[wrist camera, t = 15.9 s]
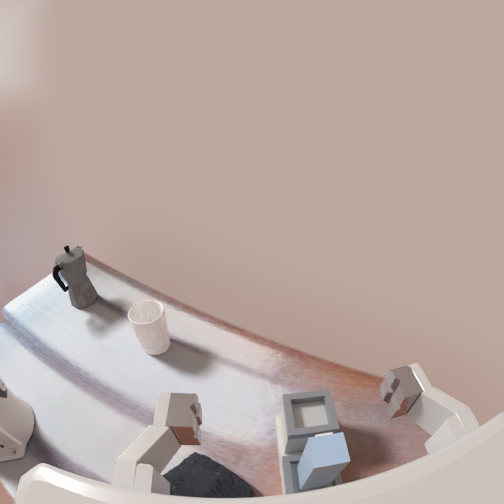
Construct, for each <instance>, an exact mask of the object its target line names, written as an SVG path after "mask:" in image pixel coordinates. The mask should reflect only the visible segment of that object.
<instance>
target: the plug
mask: <svg viewBox="0 0 504 504" xmlns="http://www.w3.org/2000/svg"><path fill="white" fill-rule="evenodd" d="M349 462H350V457H349V453H348V449H347V445H346V441H345V437H344V433H343V432H341V433H335V434H333V432H330V433H324V434H317V435H315V437H310V438H308V441H307V444H306V446H305V449H304V451H303V454H302V456H301V459H300V461H299V464H298V466H297V469H296V470H297V477H298V485H299V491H305V490H311V489H318V488H323V487H327V486H328V485H329V484H330V483H331V482H332V481H333V480H334V479H335V478H336V477H337V476H338V475H339V473H340V472H341V471H342V470H343V469H344V468H345V467H346V466H347V465H348V463H349Z"/></svg>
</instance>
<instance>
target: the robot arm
mask: <svg viewBox="0 0 504 504" xmlns="http://www.w3.org/2000/svg"><path fill="white" fill-rule="evenodd" d="M385 376H386V379H385V380H384V381H383V382H382V384H381V386H380V393H381V397H382V399H383V401H385V402H386V403H387V407H386V409H387V411H388V413H389V416H390V418H391V419H392V418H395V417H399V416H402V415H405V414H406V415H407V416H408V417H409V418H410V419H412V420H413V421H414V422H415V423H416V424H418V425H419V426H420V427H421V428H423V429H424V430H425V431H426V432H428V433H429V434H430V435H431V437H430V438H429V439H428V440H427V441H426V443H425V447H426V449H427V452H428V455H426V456H423V457H421V458H419V459H417V460H414V461H412V462H409V463H407V464H404V465H402V466H399V467H396V468H394V469H391V470H388V471H385V472H382V473H379V474H376V475H373V476H370V477H367V478H363V479H360V480H356V481H353V482H349V483H345V484H341V485H336V486H332V487H327V488H323V489H317V490H312V491H306V492H300V493H293V494H285V495H277V496H266V497H251V498H199V497H184V496H174V495H170V483H169V481H167V480H166V479H165V478H164V477H163V476H162V475H161V474H160V473H161V472H162V470H163V469H164V468H165V467H166V465H167V464H168V463H169V461H170V460H171V459H172V457H173V456H174V455H175V454H176V452H177V451H178V450H179V448H180V447H181V445H201V430H200V427H199V426H200V425H201V424H202V410H201V405H200V403H198V396H197V394H184V393H162V392H160V394H159V396H158V401H157V406H156V412H155V417H154V423H153V425H149V426H148V427H147V428H146V429H145V430H144V431H143V432H142V433H141V434H140V435H139V436H138V437H137V438H136V439H135V440H134V441H133V442H132V443H131V444H130V445H129V446H128V447H127V448H126V449H125V450H124V451H123V452H122V453H121V454H120V455H119V456H118V457H117V458H116V463H115V468H114V473H113V479H112V484H107V483H103V482H99V481H96V480H92V479H89V478H85V477H82V476H79V475H76V474H73V473H70V472H67V471H65V470H62V469H59V468H57V467H54V466H51V465H49V464H45V463H40V464H38V465H36V466H35V467H33V468H32V469H30V470H29V471H28V472H26V473H25V474H24V475H23V476H22V477H21V478H20V481H19V484H18V488H17V493H16V498H15V504H504V411H503V412H501V413H500V414H499V415H497V416H495V417H494V418H492V419H491V420H489V421H488V422H486V423H485V424H483V425H482V426H479V424H478V422H477V420H476V418H475V417H474V415H473V413H472V411H471V409H470V408H469V407H467V406H466V405H464V404H463V403H461V402H459V401H458V400H456V399H454V398H452V397H451V396H449V395H447V394H445V393H444V392H442V391H440V390H439V389H437V388H432V386H431V384H430V382H429V381H428V379H427V377H426V376H425V374H424V372H423V370H422V369H421V367H420V365H419V364H417V363H414V364H411V365H408V366H403V367H400V368H397V369H393V370H389V371H388V372H387V373H386V375H385ZM33 429H34V414H33V411H32V409H31V407H30V405H29V404H28V403H27V402H25V401H24V400H22V399H20V398H19V397H18V396H16V395H15V394H14V393H13V392H12V391H10V390H9V389H8V388H7V387H6V385H5V384H4V382H3V381H2V379H1V378H0V462H3V461H8V460H14V459H19V458H22V457H24V455H25V451H26V445H27V443H28V441H29V439H30V437H31V435H32V432H33Z"/></svg>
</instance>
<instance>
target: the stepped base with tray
mask: <svg viewBox="0 0 504 504" xmlns="http://www.w3.org/2000/svg"><path fill="white" fill-rule="evenodd" d="M275 426H276V435H277V445H278V455H279V465H280V475H281V485H282V495H285V494H293V493H300V492H306V491H312V490H317V489H311V490H305V491H299V485H298V477H297V470H296V469H297V466H298V464H299V461H300V459H301V456H302V454H303V451H304V449H305V446H306V444H307V441H308V438H310V437H315V435H317V434H324V433H330V432H333V434H335V433H338V431H339V429H340V427H339V423H338V419H337V415H336V411H335V408H334V404H333V400H332V396H331V393H330V389H328V390H321V391H313V392H305V393H295V394H284V395H283V398H282V407H281V415H276V417H275ZM341 484H343V482H342V477H341V472H340V473H339V475H338V476H337V477H336V478H335V479H334V480H333V481H332V482H331V483H330V484H329V485H328V486H327V487H332V486H336V485H341ZM327 487H323V488H327ZM323 488H318V489H323Z"/></svg>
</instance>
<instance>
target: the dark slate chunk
mask: <svg viewBox="0 0 504 504" xmlns="http://www.w3.org/2000/svg"><path fill="white" fill-rule="evenodd" d="M163 477H164V478H165V479H166V480H167V481H169V483H170V495H174V496H184V497H199V498H251V497H253V494H254V492H253V491H252V489H251V487H250V486H249V485H248V484H247V483H246V482H244V480H242V479H241V478H239V477H238V476H237V475H236V474H234V473H233V472H231V471H229V470H228V469H226V468H225V467H224V466H223V465H221V464H219V463H217V462H215V461H212V460H211V459H210V458H209V457H207V456H205V455H200V454H198V453H196V452H195V453H193V454H192V455H190V456H189V457H187V458H186V459H184V460H183V461H182V463H180V464H179V465H178V466H176V467H174V468H173V469H172V470H170V471H169V472H168V473H166V474H164V475H163Z"/></svg>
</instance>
